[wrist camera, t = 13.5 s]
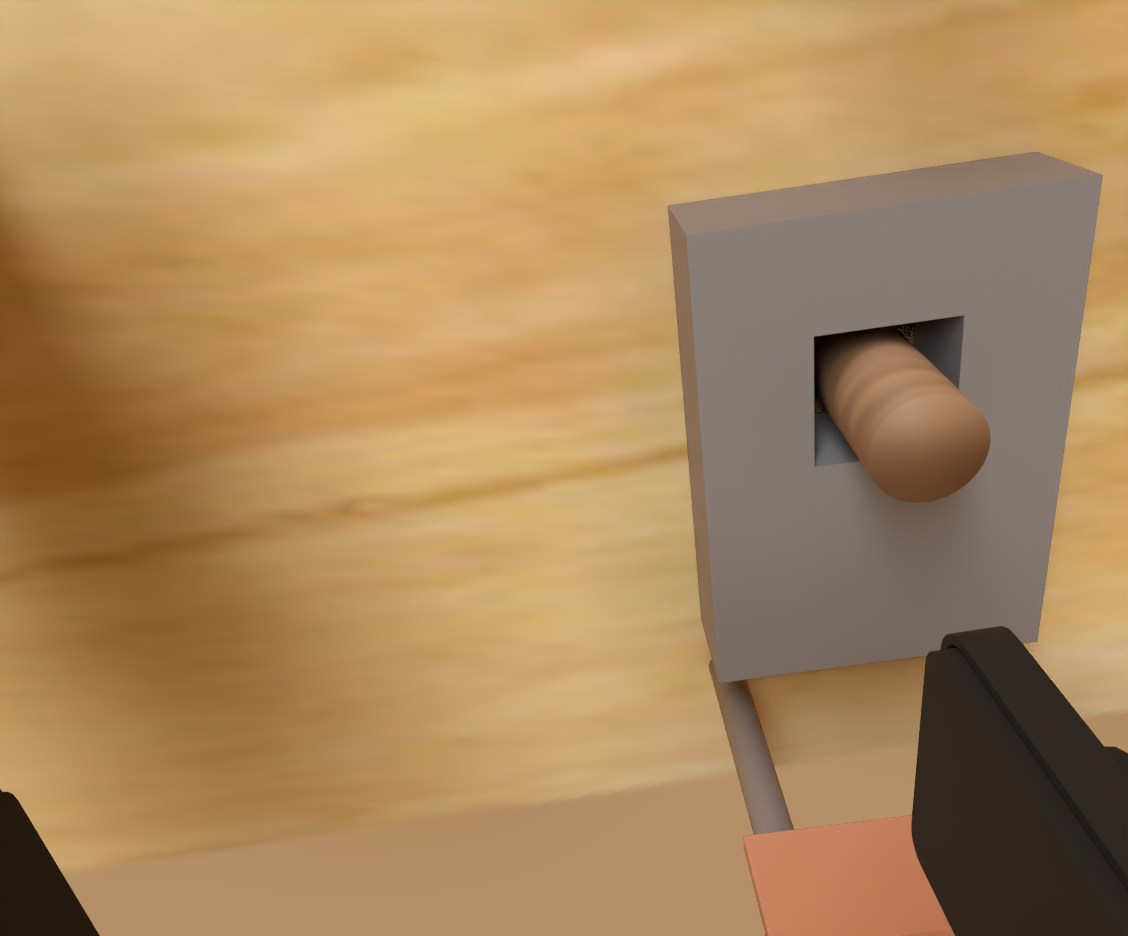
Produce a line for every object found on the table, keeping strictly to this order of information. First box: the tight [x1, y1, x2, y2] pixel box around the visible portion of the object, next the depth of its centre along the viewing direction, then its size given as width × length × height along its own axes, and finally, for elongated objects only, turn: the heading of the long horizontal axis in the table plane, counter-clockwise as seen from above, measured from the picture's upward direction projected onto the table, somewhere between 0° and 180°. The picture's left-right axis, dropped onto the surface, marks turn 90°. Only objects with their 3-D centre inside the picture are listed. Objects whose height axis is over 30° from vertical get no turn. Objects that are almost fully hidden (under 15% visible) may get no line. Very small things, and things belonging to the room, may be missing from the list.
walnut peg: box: [814, 326, 991, 503], centre depth 34 cm, size 4×4×9 cm
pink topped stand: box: [709, 660, 955, 936], centre depth 37 cm, size 8×16×19 cm, turn 98°
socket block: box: [668, 152, 1103, 683], centre depth 38 cm, size 20×14×4 cm
